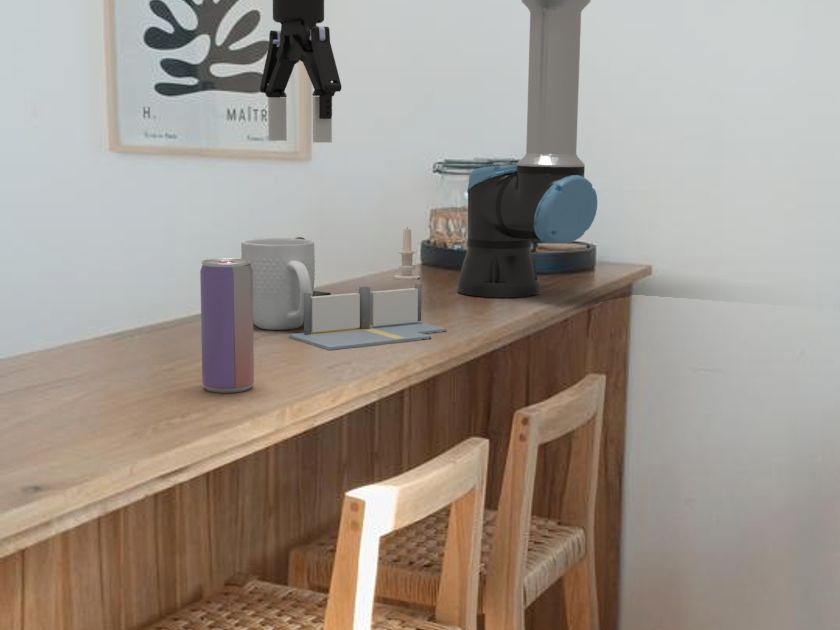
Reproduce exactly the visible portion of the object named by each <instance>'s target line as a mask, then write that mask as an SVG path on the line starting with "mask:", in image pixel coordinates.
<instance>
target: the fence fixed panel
mask: <svg viewBox="0 0 840 630" xmlns="http://www.w3.org/2000/svg"><path fill="white" fill-rule="evenodd" d="M358 291H359V292H358V293H357V292H351V293H341V294H340V293H338V294H337V293H336V294H331V295H325V296H313V297H311V293H304V322H303V333H304V335H310V334H311V332H318V331H328V330H338V329H348V328H358V327H359V329H370V326H371V325H370V292H371V287H370V286H359V288H358Z"/></svg>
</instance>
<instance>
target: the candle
mask: <svg viewBox="0 0 840 630" xmlns="http://www.w3.org/2000/svg"><path fill="white" fill-rule="evenodd" d="M397 253H398V254H400V255H401V261H400V262H401V264H400V265H399V266H398V269H400V270H401V274H400V273H399V274H394V275H393V279H395V280H397V279H399V280H398V281H415V280H414V279H417V280H419V279H418V278H421V276H420V275H419V274H414V273H413V270H415V269H416V266H415V265H413V255H414V254H416V253H418V251H415V250H412V229H410V228H409V227H408V226H407V227H406V229H403V240H402V250H398V251H397ZM412 273H413V274H412Z"/></svg>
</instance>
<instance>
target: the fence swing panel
mask: <svg viewBox="0 0 840 630" xmlns="http://www.w3.org/2000/svg"><path fill="white" fill-rule="evenodd" d="M414 287H415V288H414ZM414 287H412V288H411V287H410V288H399V289H387V290H386V289H385V290H375V291H370V326H377V325H387V324H397V323H406V322H416V321H418V322H421V321H422V296H423V295H422V293H423V292H422V290H423V288H422V287H423V285H422V283H415V285H414Z"/></svg>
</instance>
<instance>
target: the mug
mask: <svg viewBox="0 0 840 630" xmlns="http://www.w3.org/2000/svg"><path fill="white" fill-rule="evenodd" d="M295 238H296V237H294V238H291V237H262V238H250V239H244V240H242V241H241V258H240V259H247V260H250V261H251V263H250V264H251V268H252V270H253V324H254V325H255V326H256V327H257V328H259V329H262V330H268V331H270V330H271V331H273V330H274V331H282V330H283V331H287V330H295V329H298V328H300V327H301V326H302V325H303V324H304V293H311V297H312V294H313V291H314V289H315V288H314V287H315V279H316V278H315V276H316V272H315V271H316V269H315V267H316V264H315V263H316V262H315V261H316V260H315V241H314V240H312V239H311V240H310V239H306V240H305V238H304V239H295Z"/></svg>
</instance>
